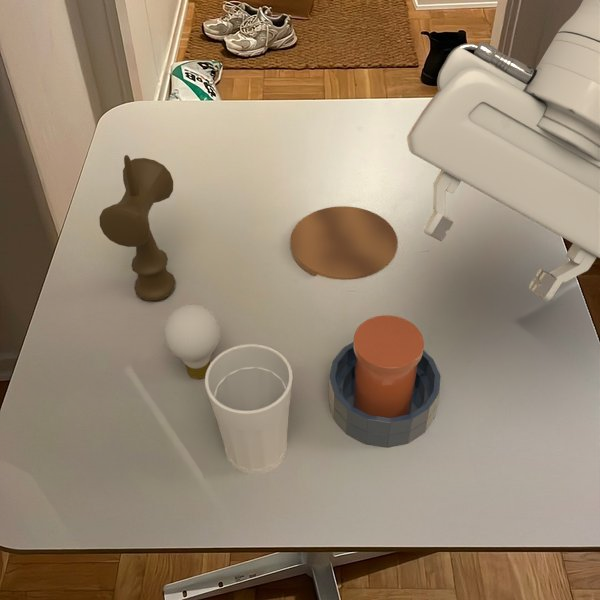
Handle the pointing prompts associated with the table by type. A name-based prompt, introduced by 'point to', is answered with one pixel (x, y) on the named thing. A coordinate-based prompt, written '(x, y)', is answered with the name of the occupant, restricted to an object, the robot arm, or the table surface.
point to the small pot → (386, 365)
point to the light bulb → (193, 337)
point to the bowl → (376, 427)
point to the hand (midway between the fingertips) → (485, 265)
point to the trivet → (343, 243)
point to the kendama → (141, 225)
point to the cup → (251, 405)
